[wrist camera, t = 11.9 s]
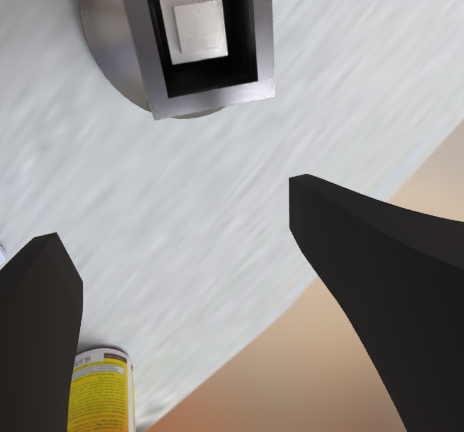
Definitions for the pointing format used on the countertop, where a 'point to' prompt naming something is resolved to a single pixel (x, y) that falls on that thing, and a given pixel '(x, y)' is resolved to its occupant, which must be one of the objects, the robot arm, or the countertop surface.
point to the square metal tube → (214, 76)
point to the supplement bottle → (102, 393)
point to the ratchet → (167, 39)
